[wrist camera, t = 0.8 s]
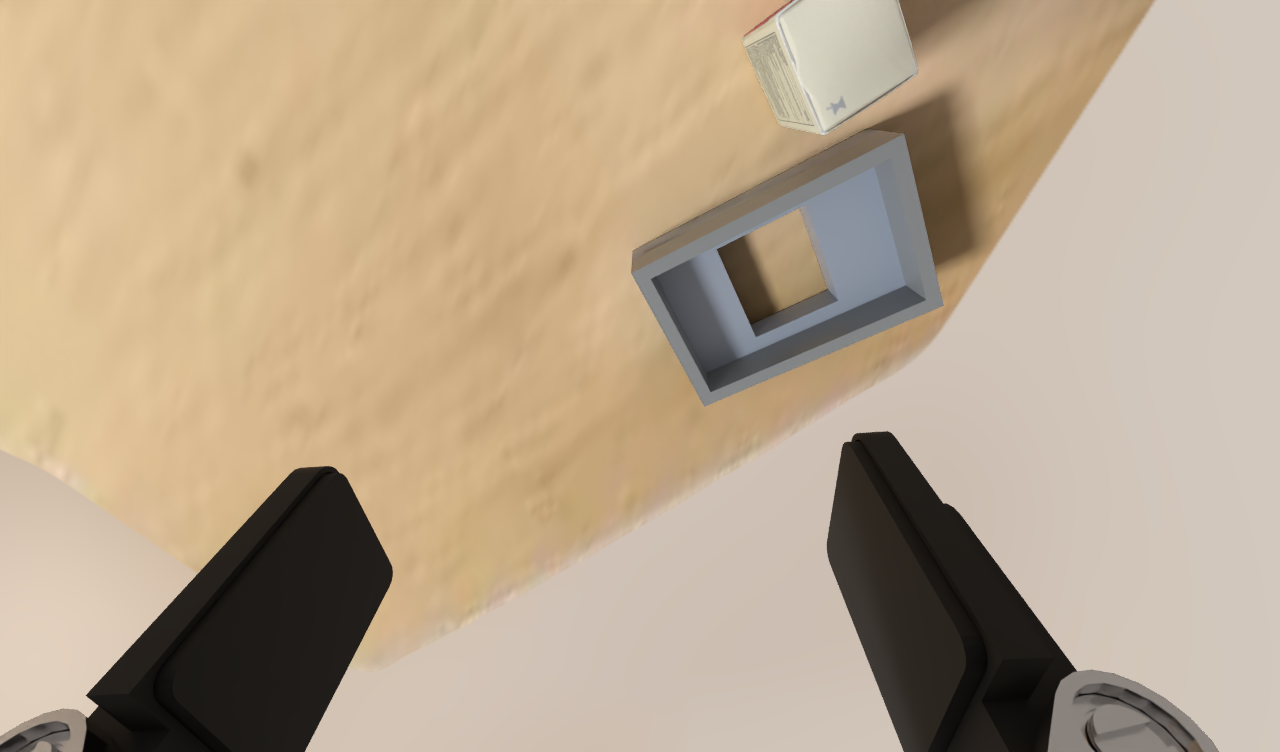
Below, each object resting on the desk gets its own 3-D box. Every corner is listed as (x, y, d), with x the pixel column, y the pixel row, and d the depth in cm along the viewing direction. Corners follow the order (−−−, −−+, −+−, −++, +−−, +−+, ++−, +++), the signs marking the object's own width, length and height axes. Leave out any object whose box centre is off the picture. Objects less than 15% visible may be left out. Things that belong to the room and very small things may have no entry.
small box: (851, 80, 26) (925, 75, 20) (778, 128, 28) (823, 139, 21) (814, -19, 24) (883, -65, 17) (737, 37, 25) (772, 15, 19)
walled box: (866, 128, 27) (904, 133, 24) (906, 280, 32) (943, 305, 28) (632, 250, 31) (631, 273, 27) (697, 372, 35) (704, 406, 31)
